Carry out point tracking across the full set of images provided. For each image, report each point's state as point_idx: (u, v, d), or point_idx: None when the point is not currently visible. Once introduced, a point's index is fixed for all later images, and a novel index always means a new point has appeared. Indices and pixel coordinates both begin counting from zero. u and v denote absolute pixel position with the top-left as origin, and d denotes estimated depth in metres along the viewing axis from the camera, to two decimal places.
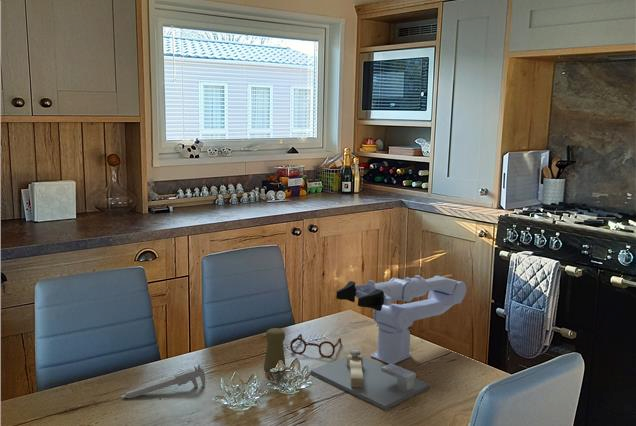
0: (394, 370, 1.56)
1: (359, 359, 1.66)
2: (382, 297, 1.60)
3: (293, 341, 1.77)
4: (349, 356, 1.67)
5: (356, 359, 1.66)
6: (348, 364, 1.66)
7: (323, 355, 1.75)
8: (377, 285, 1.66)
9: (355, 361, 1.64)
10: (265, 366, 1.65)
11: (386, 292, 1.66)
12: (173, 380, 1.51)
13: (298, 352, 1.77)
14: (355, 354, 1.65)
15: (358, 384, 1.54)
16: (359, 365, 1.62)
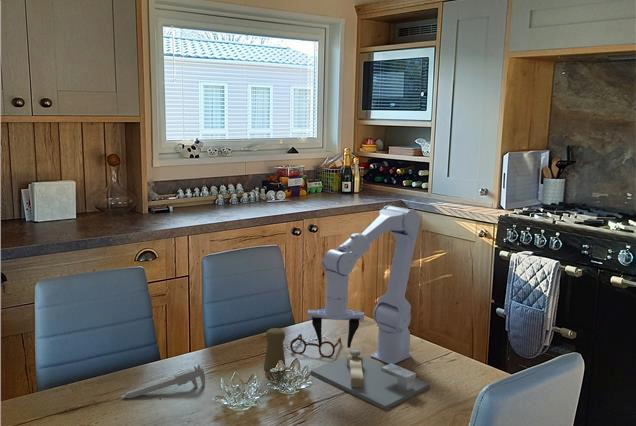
0: (394, 370, 1.56)
1: (359, 359, 1.66)
2: None
3: (293, 341, 1.77)
4: (349, 356, 1.67)
5: (356, 359, 1.66)
6: (348, 364, 1.66)
7: (323, 355, 1.75)
8: (339, 310, 1.55)
9: (355, 361, 1.64)
10: (265, 366, 1.65)
11: (346, 301, 1.56)
12: (173, 380, 1.51)
13: (298, 352, 1.77)
14: (355, 354, 1.65)
15: (358, 384, 1.54)
16: (359, 365, 1.62)
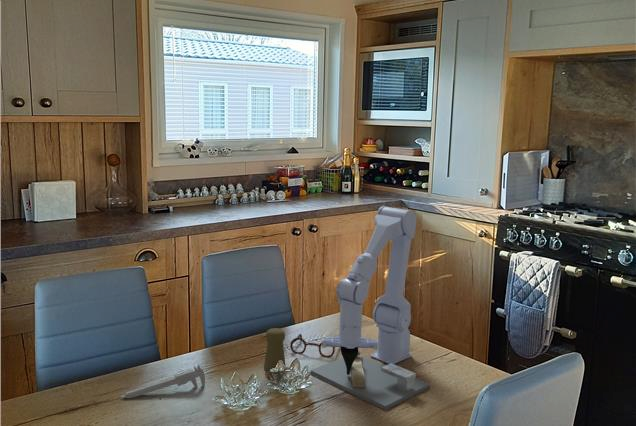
0: (394, 370, 1.56)
1: (360, 359, 1.66)
2: None
3: (293, 341, 1.77)
4: None
5: (356, 359, 1.66)
6: None
7: (323, 355, 1.75)
8: (354, 339, 1.56)
9: (355, 361, 1.64)
10: (265, 366, 1.65)
11: (360, 329, 1.58)
12: (173, 380, 1.51)
13: (298, 352, 1.77)
14: None
15: (360, 384, 1.54)
16: (360, 365, 1.62)
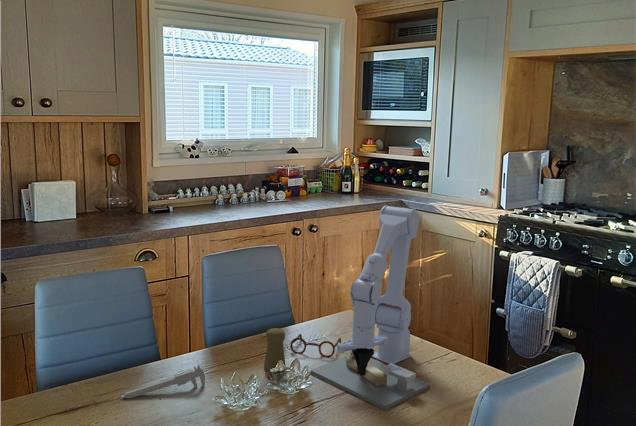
0: (394, 370, 1.56)
1: None
2: None
3: (293, 341, 1.77)
4: (349, 357, 1.67)
5: None
6: (351, 365, 1.65)
7: (323, 355, 1.75)
8: (371, 339, 1.57)
9: None
10: (265, 366, 1.65)
11: None
12: (173, 380, 1.51)
13: (298, 352, 1.77)
14: None
15: (383, 382, 1.56)
16: (368, 363, 1.63)
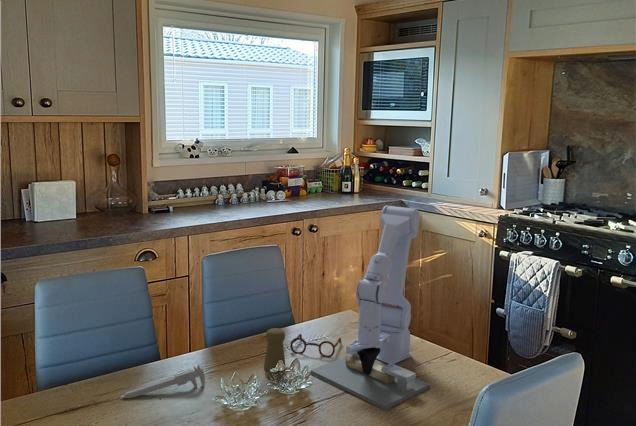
0: (394, 370, 1.56)
1: None
2: None
3: (293, 341, 1.77)
4: (350, 358, 1.66)
5: (359, 358, 1.66)
6: (353, 366, 1.65)
7: (323, 355, 1.75)
8: (378, 337, 1.58)
9: None
10: (265, 366, 1.65)
11: None
12: (172, 380, 1.51)
13: (298, 352, 1.77)
14: None
15: (392, 378, 1.58)
16: None
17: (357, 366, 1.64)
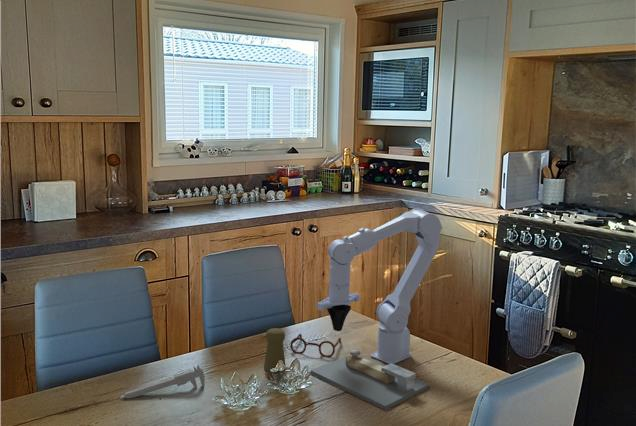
0: (394, 370, 1.56)
1: (361, 357, 1.67)
2: None
3: (293, 341, 1.77)
4: (350, 358, 1.66)
5: (359, 358, 1.66)
6: (353, 366, 1.65)
7: (323, 355, 1.76)
8: (348, 295, 1.68)
9: (361, 360, 1.65)
10: (265, 366, 1.65)
11: None
12: (172, 380, 1.51)
13: (298, 352, 1.77)
14: (358, 354, 1.66)
15: (392, 378, 1.58)
16: (371, 362, 1.64)
17: (357, 366, 1.64)
